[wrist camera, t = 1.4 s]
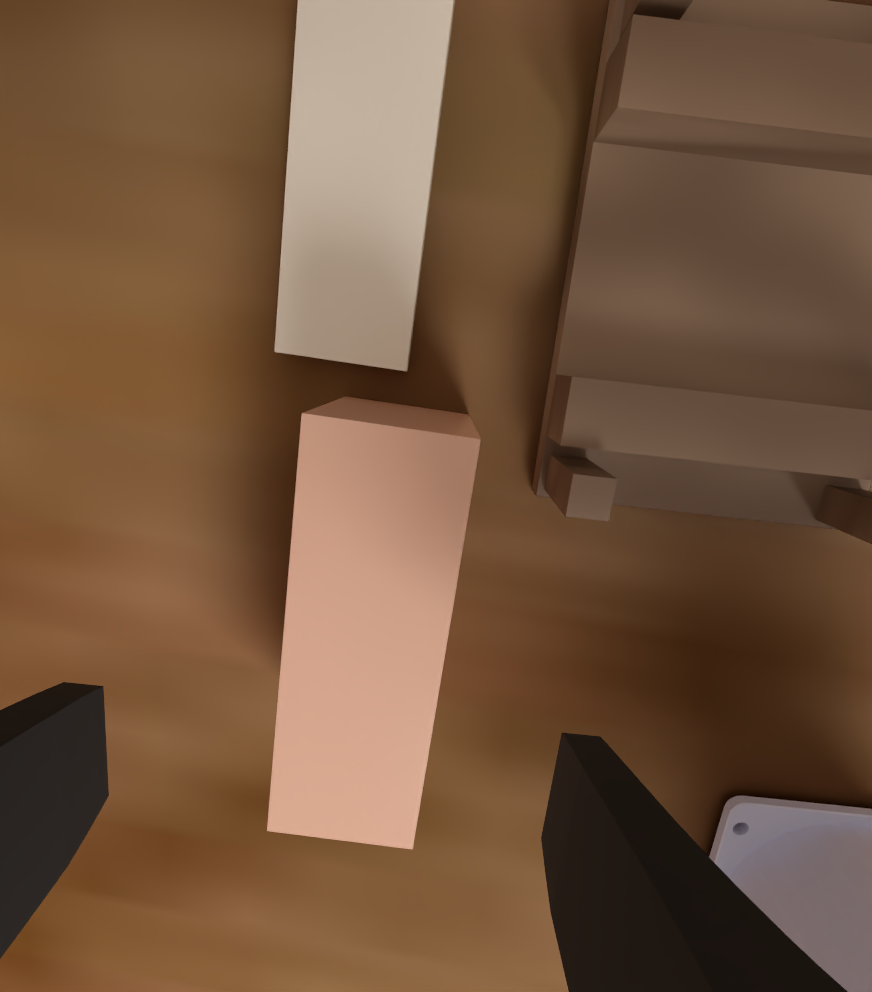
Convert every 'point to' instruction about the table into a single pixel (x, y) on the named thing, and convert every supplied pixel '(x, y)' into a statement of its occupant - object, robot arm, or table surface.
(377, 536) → the salmon pink block
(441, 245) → the table surface
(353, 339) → the fired strip
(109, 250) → the table surface
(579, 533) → the table surface
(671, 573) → the table surface
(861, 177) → the rack
